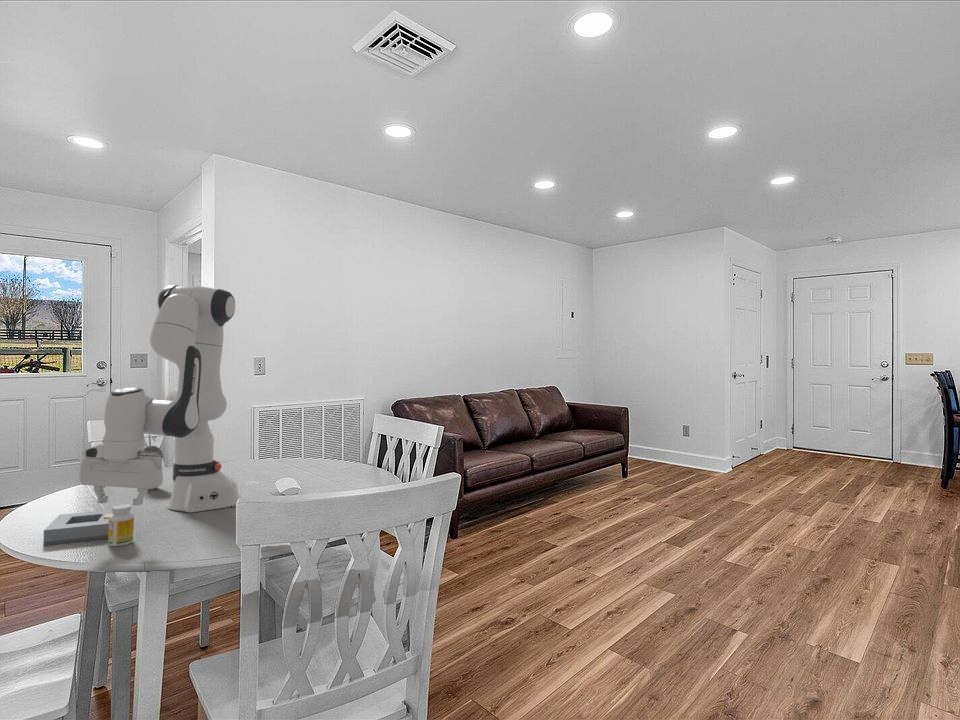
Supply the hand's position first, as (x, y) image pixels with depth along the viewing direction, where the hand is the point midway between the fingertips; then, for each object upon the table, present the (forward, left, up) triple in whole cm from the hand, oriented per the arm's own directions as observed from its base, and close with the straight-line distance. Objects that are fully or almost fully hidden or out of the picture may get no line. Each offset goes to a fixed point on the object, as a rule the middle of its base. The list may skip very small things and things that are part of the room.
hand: (120, 503), depth 131 cm
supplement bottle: (0, -1, -11) cm, 11 cm away
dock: (+10, -13, -10) cm, 19 cm away
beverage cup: (0, -60, -11) cm, 61 cm away
